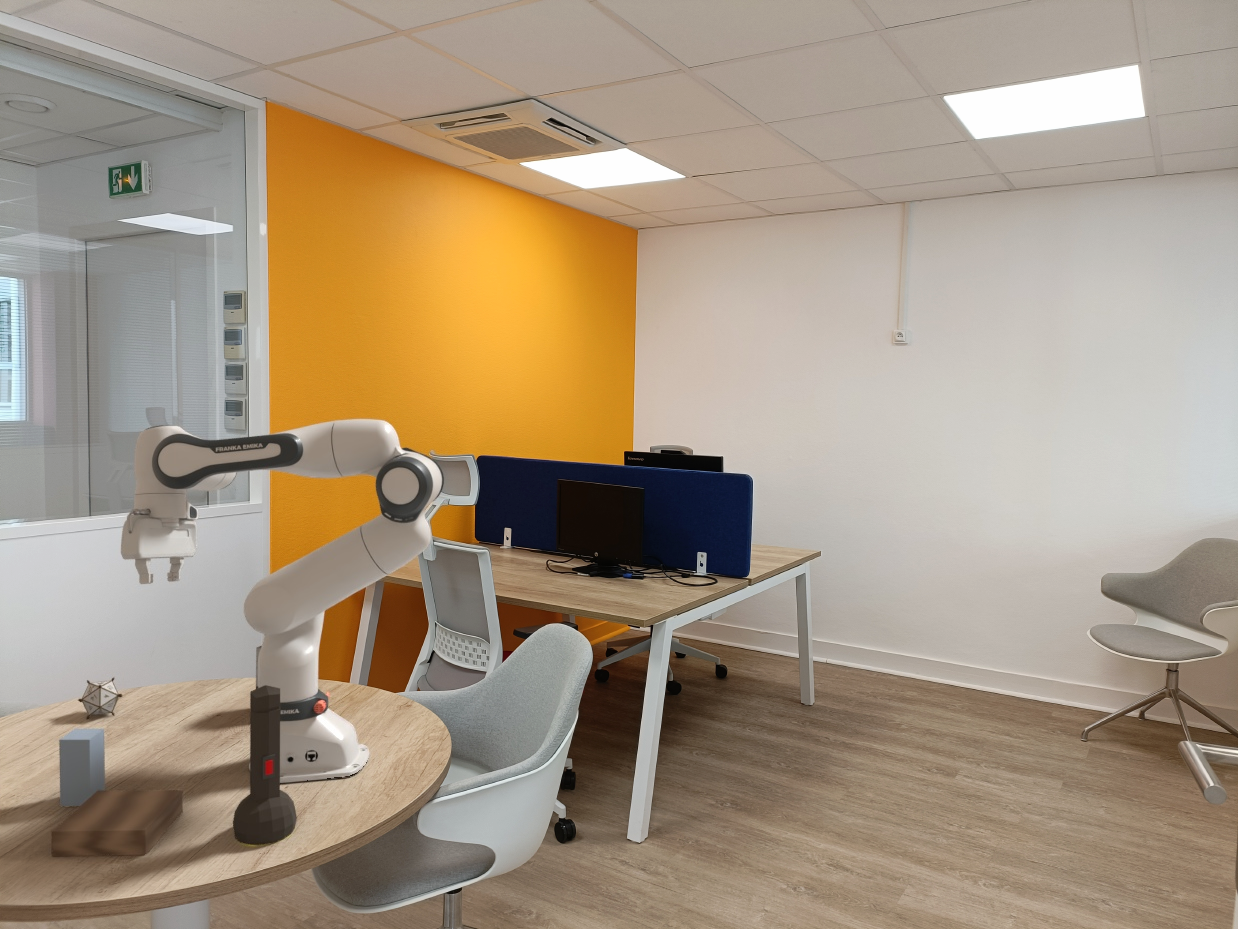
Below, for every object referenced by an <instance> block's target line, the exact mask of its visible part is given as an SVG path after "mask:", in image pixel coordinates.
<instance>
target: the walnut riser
mask: <svg viewBox="0 0 1238 929" xmlns="http://www.w3.org/2000/svg"><path fill="white" fill-rule="evenodd" d="M183 793H184V790H183V789H141V790H140V789H131V790H130V789H126V790H123V789H121V790H120V789H119V790H117V789H115V790H114V789H113V790H110V789H109V790H106V789H105V790H99V791H97V792H96V793H94V794H93V795H92V796H91V797H90V798H89V799H88V800H86V801H85V802H84V803H83V804H82V805H81V806H80V807H77V808H76V809H75V810H74V811H73V812H72V813H71V814H69V815H67V817H66V818H65V819H64V820H62V821H61V822H60V823H59V824H58V825H57V826H56V827H54V828H53V829H52V830H51V857H87V856H91V857H92V856H94V857H95V856H146V855H147V854H148V853H149V852H150V850H151V849H152V848H153V847H154V846H155V845H156V844H157V842H158V841H159V840H161V838H162V837H163V836H164V834H165V833H166V832H167V831H168V829H170V828H171V826H173V824H174V823H175V822H176V821H177V820H178V819H179V817H180V816H181V815H182V814H183V813H184V804H183V803H184V802H183V801H184V795H183ZM147 852H148V853H147ZM145 854H146V855H145Z"/></svg>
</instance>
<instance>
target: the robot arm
mask: <svg viewBox="0 0 1238 929" xmlns="http://www.w3.org/2000/svg"><path fill="white" fill-rule="evenodd" d="M397 433H398V432H397V431H396V429H395V428H394V426H393V425H392V424H390V423H389V422H388V421H386V420H383V419H373V418H353V419H352V418H351V419H338V420H332V421H326V422H319V423H316V424H311V425H307V426H306V425H305V426H302V427H298V428H293V429H289V430H284V431H279V432H275V433H271V434H270V433H269V434H264V435H263V434H262V435H261V434H260V435H255V436H243V437H235V438H234V437H233V438H232V437H231V438H223V439H222V438H221V439H204V438H200V437H199V436H196V435H193V434H191V433H189V432H187V431H186V430H184V429H183V428H182V427H181V426H179V425H175V424H161V425H155V426H151V427H148V428H145V429H144V430H142V431H140V433H139V435H138V436H137V440H136V442H135V451H134V464H133V465H134V467H133V468H134V469H133V471H134V476H135V479H136V485H135V486H136V487H135V490H134V492H133V493H134V494H133V496H134V497H133V501H134V502H133V504H134V506H133V508H132V509H131V510H130V512H129V513H128V514H127V515H126V520H125V521H124V523H123V526H122V531H121V541H120V555H121V557H122V559H123V560H125V561H126V560H134V566H135V568H136V571H137V573H138V576H139V578H138V581H139V584H140V585H150V584H153V582H154V573H151V568H150V565H151V563H152V562H151V559H168V558H169V564H170V568H169V572H167V574H166V576H167V577H166V578H167V581H168V582H169V583H170V582H171V583H172V582H179V581H180V580H181V572H182V569H183V566H184V564H185V558H192V557H194V556H195V554H196V552H197V549H198V526H197V522H196V521H197V520H198V519H199V516H200V515H199V514H200V513H199V510H198V508H197V507H195V506H194V505H192V504H191V503H190V502H189V500H187V490H193V491H204V492H215V491H219V490H220V491H221V490H223V489H225V488H227V487H229V486H230V485H231V484H232V483H233V481H235V479H236V476H237V474H238V473H241V472H243V473H244V472H251V471H273V472H280V473H287V474H290V475H296V476H299V477H305V478H313V479H338V478H339V479H341V478H344V477H345V478H347V477H348V478H349V477H353V476H360V475H361V476H362V475H363V476H371V477H374V478H375V491H376V493H375V494H376V495H377V499H378V503H379V508H380V514H379V515H378V516H376V517H375V518H373V519H371V520H369V521H367V522H365V523H363V524H361V525H359V526H357V527H356V528H353V529H351V531H348V532H346V533H344V534H343V535H341V536H339V537H337V538H335V539H334V540H332V541H330V542H328V543H326V544H324V545H322V546H321V547H319V548H317V549H315V550H313V551H311V552H310V553H308V554H306V555H304V556H302V557H300V558H299V559H296V560H295V561H293V562H292V563H288V564H287V565H285V566H283V567H281V568H279V569H277V570H276V571H274V572H272V573H271V574H269V575H267V576H266V577H264V578H262V579H260V580H259V581H258V582H256V584H254V585H253V587H252V589H251V590H250V591H249V593H248V595H247V596H246V598H245V600H244V603H243V614H244V618H245V621H246V622H247V624H248V625H249V626H250V627H251V628H252V630H254V631H256V632H258V633H260V634H263V635H264V636H263V641H262V644H261V646H262V647H261V650H260V652H259V657H258V688H260V687H262V686H265V685H267V686H272V687H276V688H280V784H284V783H285V784H286V783H294V782H295V783H297V782H306V781H307V780H308V781H317V780H328V779H327V778H331V779H335V778H334V777H342V776H350V775H352V774H354V773H356V772H358V771H359V770H360V769H361V768H362V767H363V766H364V765H365V764H366V762H367V760H368V761H369V759H370V749H369V747H368V746H367V745H366V744H365V743H364V744H363V743H359V741H358V735H357V731H356V728H355V726H354V725H353V724H352V723H351V722H350V721H348V720H347V719H345V718H343V717H342V716H341V715H339V714H337V713H336V712H334V711H333V710H332V709H330V708H329V699H330V691H327V692H326V693H324V692H323V691H322V690H321V689H319V652H320V644H321V638H322V633H323V632H322V631H323V625H324V619H325V611H326V610H328V609H330V608H332V607H334V606H335V605H337V604H338V603H341V602H342V601H344V600H345V599H347V598H349V597H351V596H352V595H354V594H355V593H357V592H359V591H362V590H363V589H365V588H367V587H368V586H370V585H372V584H374V583H376V582H377V581H380V580H382V579H383V578H385V577H386V576H389V575H390V574H392V573H394V572H395V571H397V570H399V569H401V568H402V567H405V565H407V564H409V563H410V562H412V561H413V560H414V559H415V558H417V557H418V556H419V555H421V554H422V553H423V552H425V550H426V549H427V548H428V547H429V545H430V543H431V540H432V533H431V532H432V531H431V528H430V524H429V523H428V521H427V519H426V510H427V508H428V507H429V505H431V504H432V503H433V502H434V501H436V500H437V498H439V497H440V494H441V493H442V491H443V489H444V484H445V476H444V473H443V469H442V468H441V466H440V465H439V463H438V462H437V461H436V460H435V459H433V458H432V457H430V456H429V455H427V454H424V453H421V452H418V451H416V450H414V449H412V448H410V447H401V444H400V438H399V436H398V434H397ZM368 758H369V759H368ZM367 763H368V762H367ZM366 765H367V764H366ZM366 765H365V766H366ZM248 769H249V771H250V762H249V764H248ZM359 772H360V771H359ZM359 772H358V773H359ZM350 777H351V776H350ZM342 778H343V777H342Z"/></svg>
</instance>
